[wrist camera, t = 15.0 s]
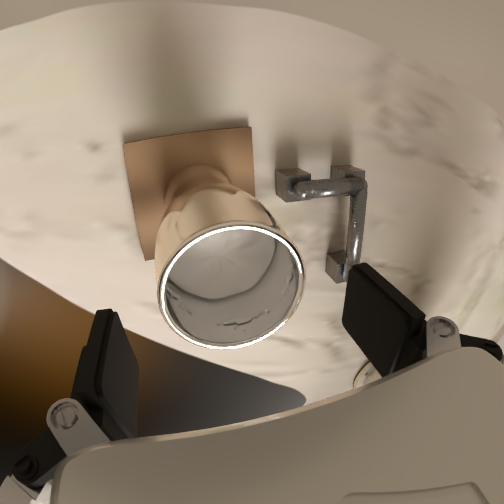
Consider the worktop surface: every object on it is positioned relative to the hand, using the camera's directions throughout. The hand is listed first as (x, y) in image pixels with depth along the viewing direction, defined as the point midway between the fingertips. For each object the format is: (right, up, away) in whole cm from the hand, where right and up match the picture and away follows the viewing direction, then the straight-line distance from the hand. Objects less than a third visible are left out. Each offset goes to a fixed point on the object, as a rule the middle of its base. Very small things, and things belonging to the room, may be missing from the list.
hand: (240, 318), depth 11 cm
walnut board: (-5, +8, +15) cm, 17 cm away
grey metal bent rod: (+7, +5, +20) cm, 21 cm away
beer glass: (-4, +7, +14) cm, 17 cm away
